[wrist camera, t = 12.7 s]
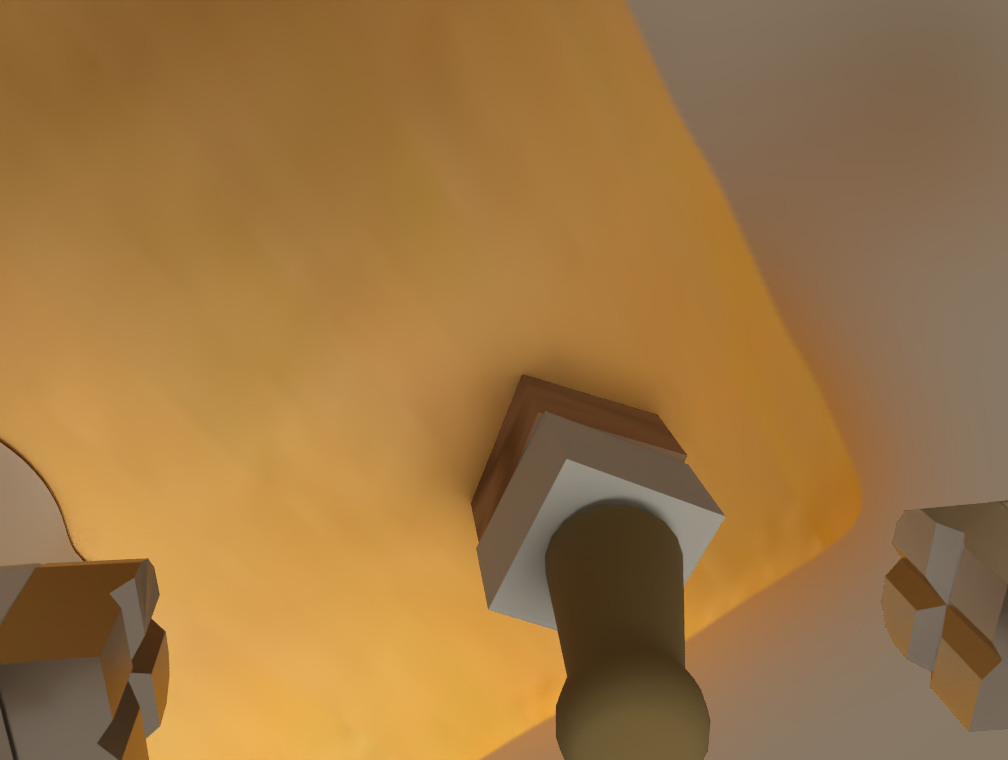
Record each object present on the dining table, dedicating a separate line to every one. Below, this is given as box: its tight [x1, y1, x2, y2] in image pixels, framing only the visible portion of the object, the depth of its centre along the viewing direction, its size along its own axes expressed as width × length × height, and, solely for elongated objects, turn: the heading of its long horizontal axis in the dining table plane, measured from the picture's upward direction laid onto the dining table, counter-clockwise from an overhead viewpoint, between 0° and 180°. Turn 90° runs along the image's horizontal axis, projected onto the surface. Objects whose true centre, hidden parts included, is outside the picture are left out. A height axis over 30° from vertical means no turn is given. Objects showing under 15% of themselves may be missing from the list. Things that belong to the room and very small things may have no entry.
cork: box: [545, 505, 710, 760], centre depth 33 cm, size 6×6×11 cm
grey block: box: [476, 411, 725, 631], centre depth 41 cm, size 8×8×5 cm
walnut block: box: [471, 374, 687, 542], centre depth 46 cm, size 8×8×5 cm
